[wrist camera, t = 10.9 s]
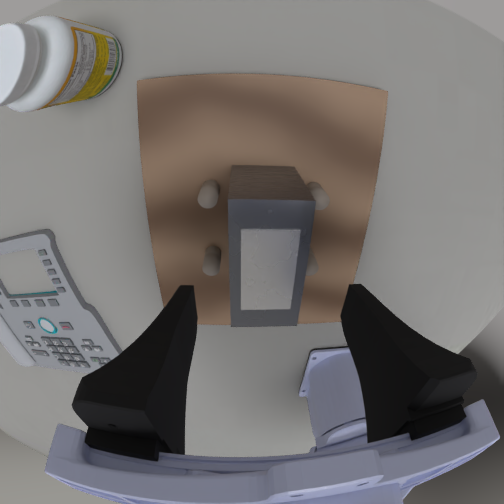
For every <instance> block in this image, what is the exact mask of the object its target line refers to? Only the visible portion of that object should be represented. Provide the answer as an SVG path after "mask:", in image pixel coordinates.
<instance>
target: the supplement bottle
mask: <svg viewBox="0 0 504 504" xmlns="http://www.w3.org/2000/svg"><path fill="white" fill-rule="evenodd" d="M121 61H122V51H121V46H120V44H119V42H118V40H117V39H116V37H115V36H114V35H112V34H111V33H110V32H108V31H105V30H103V29H99V28H96V27H93V26H90V25H86V24H83V23H79V22H76V21H72V20H68V19H65V18H61V17H57V16H50V15H47V16H40V17H36V18H34V19H31V20H29V21H28V22H26V23H21V24H20V23H7V24H4V25H1V26H0V106H3V105H6V106H8V107H9V108H10V109H12V110H15V111H18V112H30V111H35V110H40V109H43V108H47V107H51V106H55V105H60V104H65V103H71V102H76V101H81V100H86V99H91V98H94V97H96V96H98V95H100V94H101V93H103V92H104V91H105V90H106V89H107V88H108V87H109V86H110V85H111V84H112V83H113V81H114V80H115V78H116V76H117V74H118V72H119V69H120V66H121Z"/></svg>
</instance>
